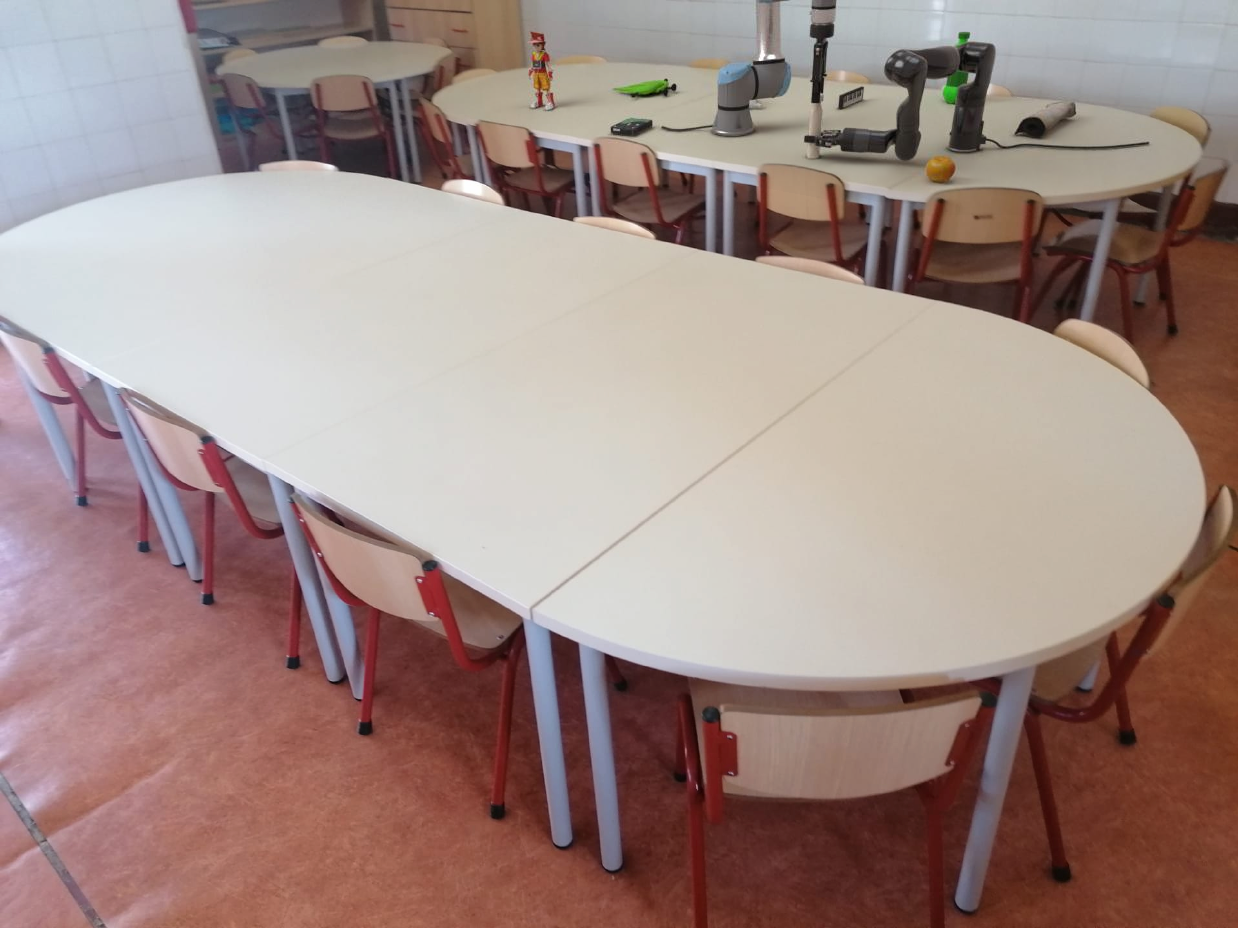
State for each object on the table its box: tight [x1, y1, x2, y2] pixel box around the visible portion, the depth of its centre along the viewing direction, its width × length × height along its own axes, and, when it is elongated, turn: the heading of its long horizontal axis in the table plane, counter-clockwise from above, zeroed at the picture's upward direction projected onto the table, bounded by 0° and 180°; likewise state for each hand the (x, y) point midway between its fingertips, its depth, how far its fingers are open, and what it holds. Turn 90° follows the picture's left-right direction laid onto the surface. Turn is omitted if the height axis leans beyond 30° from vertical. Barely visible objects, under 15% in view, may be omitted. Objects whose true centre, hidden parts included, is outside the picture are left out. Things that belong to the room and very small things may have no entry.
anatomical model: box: [749, 99, 763, 110], centre depth 365 cm, size 15×10×10 cm
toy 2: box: [612, 78, 677, 99], centre depth 396 cm, size 28×5×30 cm
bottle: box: [806, 102, 824, 160], centre depth 300 cm, size 4×4×20 cm
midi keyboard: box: [837, 85, 865, 110], centre depth 359 cm, size 18×1×5 cm, turn 138°
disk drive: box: [610, 117, 653, 136], centre depth 344 cm, size 10×3×15 cm
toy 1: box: [527, 31, 556, 111], centre depth 374 cm, size 12×9×30 cm
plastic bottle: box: [942, 31, 971, 104], centre depth 348 cm, size 10×10×25 cm
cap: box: [810, 92, 825, 103], centre depth 294 cm, size 4×4×2 cm
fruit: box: [925, 155, 956, 183], centre depth 276 cm, size 8×8×8 cm
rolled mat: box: [1014, 100, 1077, 139], centre depth 318 cm, size 30×9×10 cm
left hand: (817, 100), depth 295 cm, fingers open, 6 cm apart
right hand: (806, 137), depth 303 cm, fingers closed on bottle, 4 cm apart
